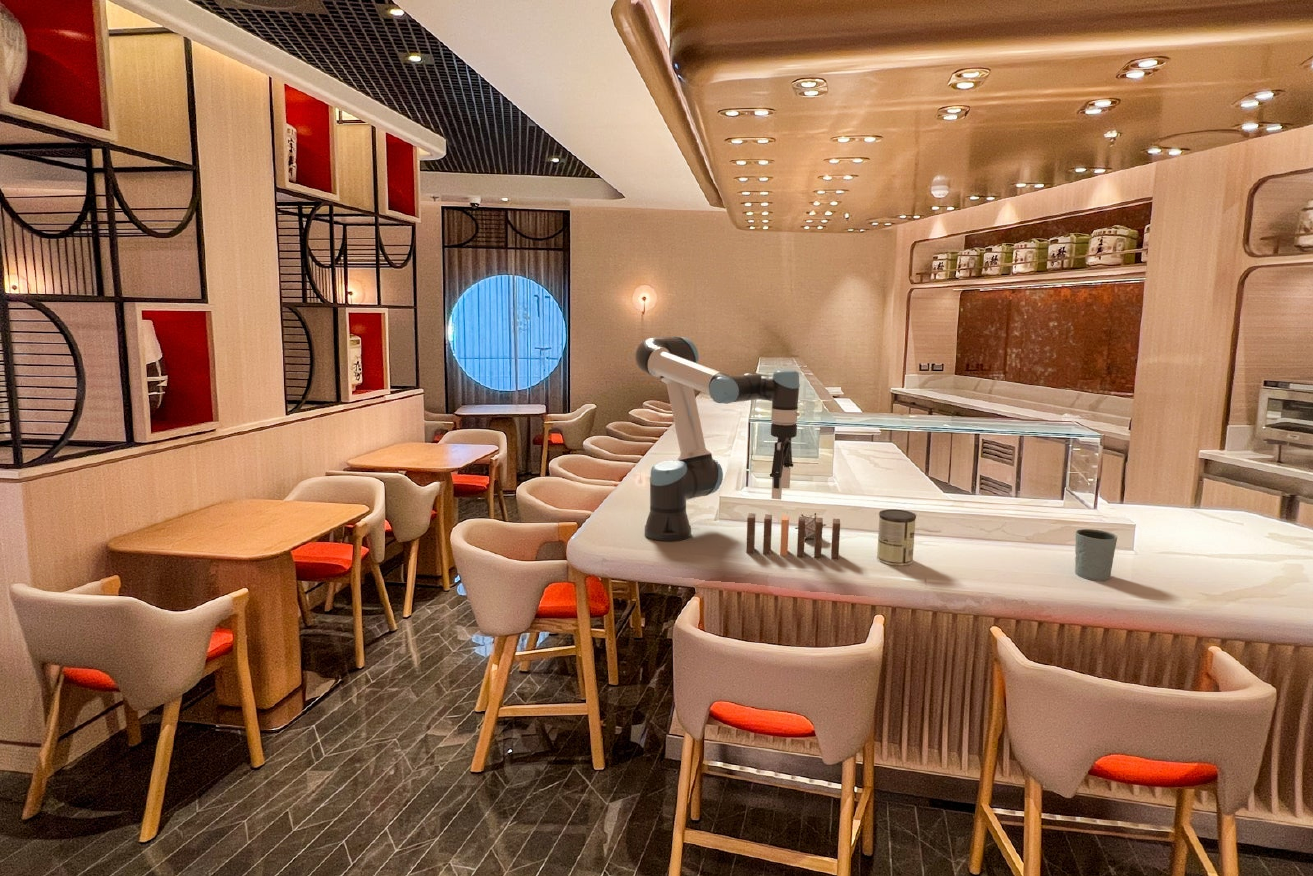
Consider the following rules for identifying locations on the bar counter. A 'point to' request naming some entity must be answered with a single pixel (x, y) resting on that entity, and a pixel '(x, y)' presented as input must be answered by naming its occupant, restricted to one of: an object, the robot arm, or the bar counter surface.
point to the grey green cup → (1094, 554)
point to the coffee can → (896, 537)
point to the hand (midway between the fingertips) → (780, 493)
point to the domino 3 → (784, 535)
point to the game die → (810, 526)
